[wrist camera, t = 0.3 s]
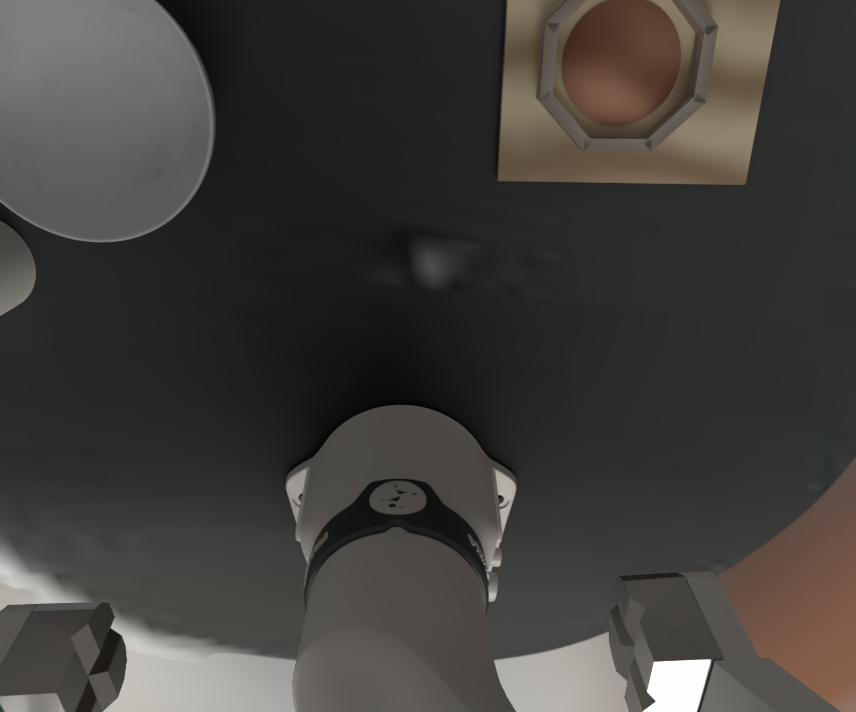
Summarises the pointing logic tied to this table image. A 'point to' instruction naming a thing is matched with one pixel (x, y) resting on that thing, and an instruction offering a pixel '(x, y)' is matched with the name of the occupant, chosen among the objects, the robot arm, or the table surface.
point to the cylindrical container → (14, 269)
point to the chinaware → (100, 116)
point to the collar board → (632, 89)
